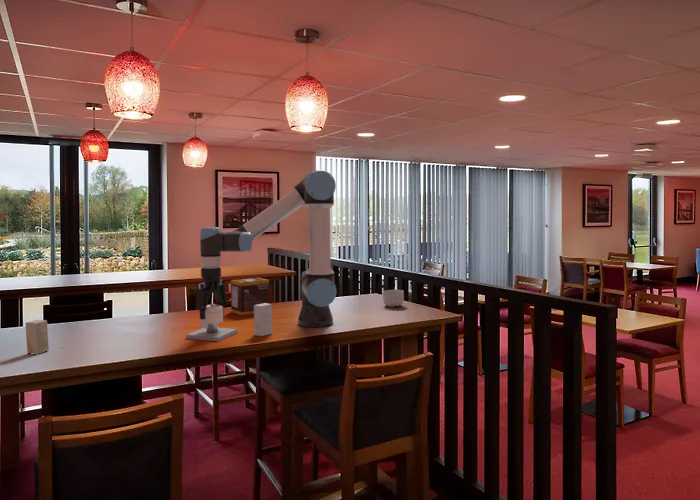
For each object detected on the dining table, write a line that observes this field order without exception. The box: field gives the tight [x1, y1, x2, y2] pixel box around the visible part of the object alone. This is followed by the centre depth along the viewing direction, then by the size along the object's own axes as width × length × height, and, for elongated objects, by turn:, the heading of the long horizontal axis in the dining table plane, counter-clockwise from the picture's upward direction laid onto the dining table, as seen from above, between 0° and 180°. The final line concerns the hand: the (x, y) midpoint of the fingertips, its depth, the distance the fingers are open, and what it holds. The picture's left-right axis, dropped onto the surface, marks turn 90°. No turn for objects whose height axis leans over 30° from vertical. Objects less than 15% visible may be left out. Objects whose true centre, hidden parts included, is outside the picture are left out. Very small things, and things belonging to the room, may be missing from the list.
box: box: [25, 319, 50, 354], centre depth 178 cm, size 5×4×11 cm
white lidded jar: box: [206, 302, 222, 324], centre depth 203 cm, size 8×8×7 cm
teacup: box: [382, 289, 405, 306], centre depth 266 cm, size 14×11×8 cm
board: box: [185, 327, 238, 342], centre depth 203 cm, size 14×14×2 cm
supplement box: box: [230, 277, 270, 316], centre depth 250 cm, size 10×15×16 cm
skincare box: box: [253, 303, 273, 337], centre depth 205 cm, size 6×4×12 cm
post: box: [206, 323, 219, 333], centre depth 203 cm, size 4×4×8 cm
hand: (212, 324), depth 203 cm, fingers closed on white lidded jar, 8 cm apart
